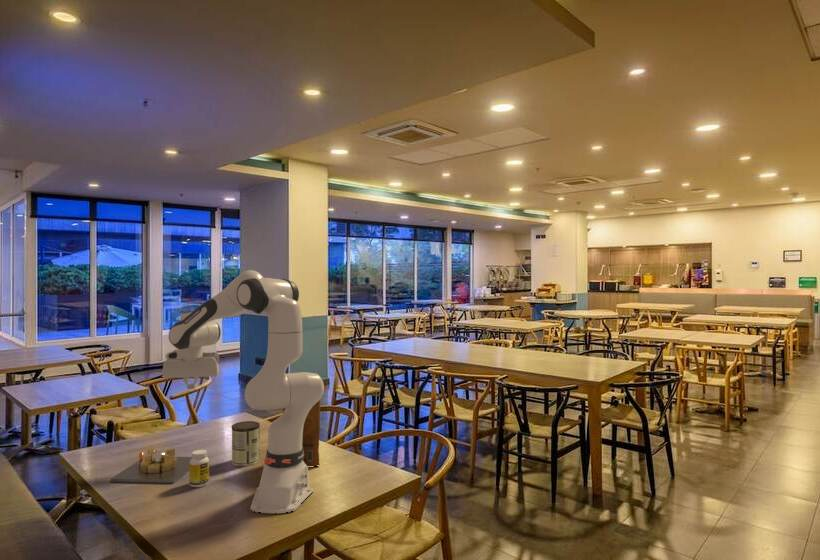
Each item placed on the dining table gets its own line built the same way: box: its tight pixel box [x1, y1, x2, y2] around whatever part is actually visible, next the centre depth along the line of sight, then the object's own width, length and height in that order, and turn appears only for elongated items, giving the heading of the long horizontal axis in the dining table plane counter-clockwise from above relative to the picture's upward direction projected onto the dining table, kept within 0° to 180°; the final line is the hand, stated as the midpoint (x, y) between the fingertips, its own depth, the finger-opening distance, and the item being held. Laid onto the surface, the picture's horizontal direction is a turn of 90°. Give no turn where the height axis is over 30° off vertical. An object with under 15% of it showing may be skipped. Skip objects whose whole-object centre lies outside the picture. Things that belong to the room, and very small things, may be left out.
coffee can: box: [231, 420, 261, 467], centre depth 195 cm, size 10×10×14 cm
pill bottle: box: [188, 449, 210, 488], centre depth 173 cm, size 6×6×11 cm
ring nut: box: [140, 447, 178, 473], centre depth 185 cm, size 14×12×5 cm
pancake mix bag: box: [281, 399, 321, 466], centre depth 193 cm, size 7×19×28 cm, turn 57°
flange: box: [110, 450, 193, 485], centre depth 185 cm, size 22×22×6 cm
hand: (191, 388), depth 197 cm, fingers closed
